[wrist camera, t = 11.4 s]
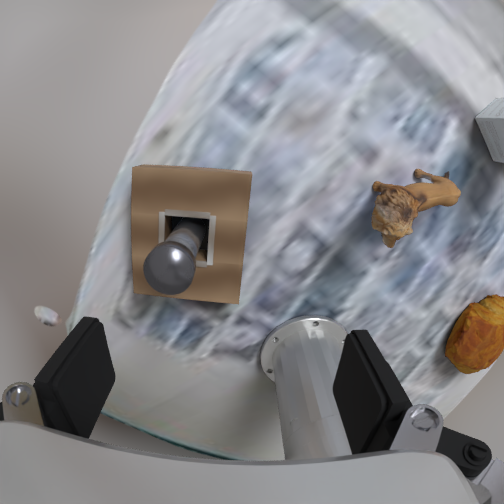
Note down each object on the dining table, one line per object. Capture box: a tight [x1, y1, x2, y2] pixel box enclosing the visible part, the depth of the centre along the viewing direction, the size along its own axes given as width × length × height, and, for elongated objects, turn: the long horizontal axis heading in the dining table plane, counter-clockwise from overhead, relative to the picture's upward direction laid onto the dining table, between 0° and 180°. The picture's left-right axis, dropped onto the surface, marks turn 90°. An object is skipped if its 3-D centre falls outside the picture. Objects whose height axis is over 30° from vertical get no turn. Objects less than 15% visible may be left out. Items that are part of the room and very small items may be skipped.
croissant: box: [445, 295, 504, 374], centre depth 38 cm, size 14×16×8 cm
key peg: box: [143, 217, 206, 295], centre depth 28 cm, size 4×4×12 cm
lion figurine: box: [372, 169, 461, 248], centre depth 29 cm, size 15×5×9 cm, turn 115°
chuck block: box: [131, 165, 252, 304], centre depth 32 cm, size 14×12×4 cm
